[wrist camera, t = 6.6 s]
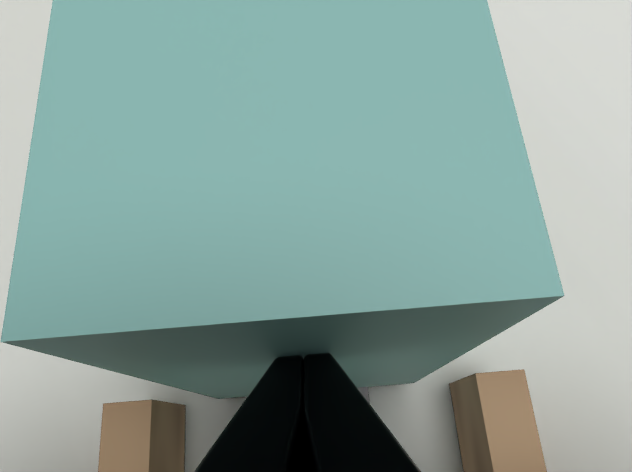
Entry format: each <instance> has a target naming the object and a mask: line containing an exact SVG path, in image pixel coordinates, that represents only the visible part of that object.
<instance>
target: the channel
mask: <svg viewBox="0 0 632 472" xmlns="http://www.w3.org/2000/svg"><path fill="white" fill-rule="evenodd" d="M449 385H450V391H451V397H452V403H453V409H454V416H455V422H456V428H457V434H458V440H459V446H460V452H461V458H462V464H463V470H464V472H547V471H546V466H545V462H544V457H543V453H542V448H541V444H540V439H539V434H538V430H537V425H536V421H535V416H534V412H533V407H532V403H531V398H530V394H529V389H528V385H527V380H526V375H525V371H524V370H512V371H499V372H487V373H475V374H473V375H470V376H468V377H465V378H463V379H460V380H458V381H455V382H452V383H450V384H449ZM357 388H358V390H359V391H360V392H361V394H362V395H363V396H364V398H365V399H366V400H367V401H368V403H369V394H368V387H357ZM184 456H185V405H182V404H175V403H169V402H163V401H157V400H142V401H129V402H117V403H105V404H103V413H102V427H101V440H100V453H99V466H98V472H184Z"/></svg>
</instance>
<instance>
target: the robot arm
mask: <svg viewBox="0 0 632 472" xmlns="http://www.w3.org/2000/svg"><path fill="white" fill-rule="evenodd" d="M194 472H421V471H420V470H419V468H418V467H417V466H416V465H415V463H414V462H413V461H412V459H411V458H410V457H409V455H408V454H407V453H406V451H405V450H404V449H403V447H402V446H401V445H400V444H399V442H398V441H397V440H396V438H395V437H394V436H393V434H392V433H391V432H390V430H389V429H388V428H387V426H386V425H385V424H384V423H383V421H382V420H381V419H380V417H379V416H378V415H377V413H376V412H375V411H374V409H373V408H372V407H371V405H370V404H369V403H368V401H367V400H366V399H365V398H364V396H363V395H362V394H361V392H360V391H359V390H358V388H357V387H356V386H355V384H354V383H353V382H352V380H351V379H350V378H349V377H348V375H347V374H346V373H345V371H344V370H343V369H342V367H341V366H340V365H339V363H338V362H337V361H336V359H335V358H334V357H333V356H332V355H331V354H330V353H320V354H308V355H306V356H305V357H304V360H303V357H302V356H300V355H295V356H283V357H277V358H276V359H275V360H274V361H273V362H272V364H271V365H270V366H269V368H268V369H267V371H266V372H265V373H264V375H263V376H262V378H261V379H260V380H259V382H258V383H257V385H256V386H255V387H254V389H253V390H252V392H251V393H250V394H249V396H248V397H247V399H246V400H245V401H244V403H243V404H242V406H241V407H240V408H239V410H238V411H237V413H236V414H235V415H234V417H233V418H232V420H231V421H230V422H229V424H228V425H227V427H226V428H225V429H224V431H223V432H222V434H221V435H220V436H219V438H218V439H217V441H216V442H215V443H214V445H213V446H212V448H211V449H210V450H209V452H208V453H207V455H206V456H205V457H204V459H203V460H202V462H201V463H200V464H199V466H198V467H197V469H196V470H195V471H194Z"/></svg>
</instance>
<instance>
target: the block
mask: <svg viewBox="0 0 632 472" xmlns="http://www.w3.org/2000/svg"><path fill="white" fill-rule="evenodd" d="M563 296H564V293H563V289H562V285H561V281H560V277H559V274H558V270H557V266H556V262H555V258H554V254H553V251H552V247H551V243H550V239H549V235H548V232H547V228H546V224H545V220H544V216H543V213H542V209H541V205H540V201H539V197H538V193H537V190H536V186H535V182H534V178H533V174H532V171H531V167H530V163H529V159H528V155H527V151H526V148H525V144H524V140H523V136H522V132H521V129H520V125H519V121H518V117H517V113H516V110H515V106H514V102H513V98H512V94H511V90H510V87H509V83H508V79H507V75H506V71H505V68H504V64H503V60H502V56H501V52H500V49H499V45H498V41H497V37H496V33H495V29H494V26H493V22H492V18H491V14H490V10H489V7H488V3H487V0H53V3H52V9H51V16H50V23H49V29H48V36H47V42H46V49H45V55H44V62H43V68H42V75H41V81H40V88H39V94H38V101H37V108H36V114H35V121H34V127H33V134H32V140H31V147H30V153H29V160H28V166H27V173H26V179H25V186H24V193H23V199H22V206H21V212H20V219H19V225H18V232H17V238H16V245H15V251H14V258H13V264H12V271H11V278H10V284H9V291H8V297H7V304H6V310H5V317H4V323H3V330H2V336H1V342H3V343H7V344H11V345H15V346H19V347H22V348H26V349H30V350H34V351H38V352H42V353H45V354H49V355H53V356H57V357H61V358H64V359H68V360H72V361H76V362H80V363H84V364H87V365H91V366H95V367H99V368H103V369H107V370H110V371H114V372H118V373H122V374H126V375H130V376H133V377H137V378H141V379H145V380H149V381H152V382H156V383H160V384H164V385H168V386H172V387H175V388H179V389H183V390H187V391H191V392H195V393H198V394H202V395H206V396H210V397H214V398H218V399H222V398H234V397H246V396H249V394H250V393H251V392H252V390H253V389H254V387H255V386H256V385H257V383H258V382H259V380H260V379H261V378H262V376H263V375H264V373H265V372H266V371H267V369H268V368H269V366H270V365H271V364H272V362H273V361H274V360H275V359H276V358H277V357H283V356H295V355H300V356H302V357H303V360H304V357H305V356H306V355H308V354H320V353H330V354H331V355H332V356H333V357H334V358H335V359H336V361H337V362H338V363H339V365H340V366H341V367H342V369H343V370H344V371H345V373H346V374H347V375H348V377H349V378H350V379H351V380H352V382H353V383H354V384H355V386H356V387H370V386H382V385H394V384H407V383H415V382H416V381H418V380H420V379H421V378H423V377H425V376H427V375H428V374H430V373H432V372H434V371H435V370H437V369H439V368H440V367H442V366H444V365H446V364H447V363H449V362H451V361H453V360H454V359H456V358H458V357H459V356H461V355H463V354H465V353H466V352H468V351H470V350H472V349H473V348H475V347H477V346H478V345H480V344H482V343H484V342H485V341H487V340H489V339H491V338H492V337H494V336H496V335H497V334H499V333H501V332H503V331H504V330H506V329H508V328H510V327H511V326H513V325H515V324H516V323H518V322H520V321H522V320H523V319H525V318H527V317H529V316H530V315H532V314H534V313H535V312H537V311H539V310H541V309H542V308H544V307H546V306H548V305H549V304H551V303H553V302H554V301H556V300H558V299H560V298H561V297H563Z"/></svg>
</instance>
